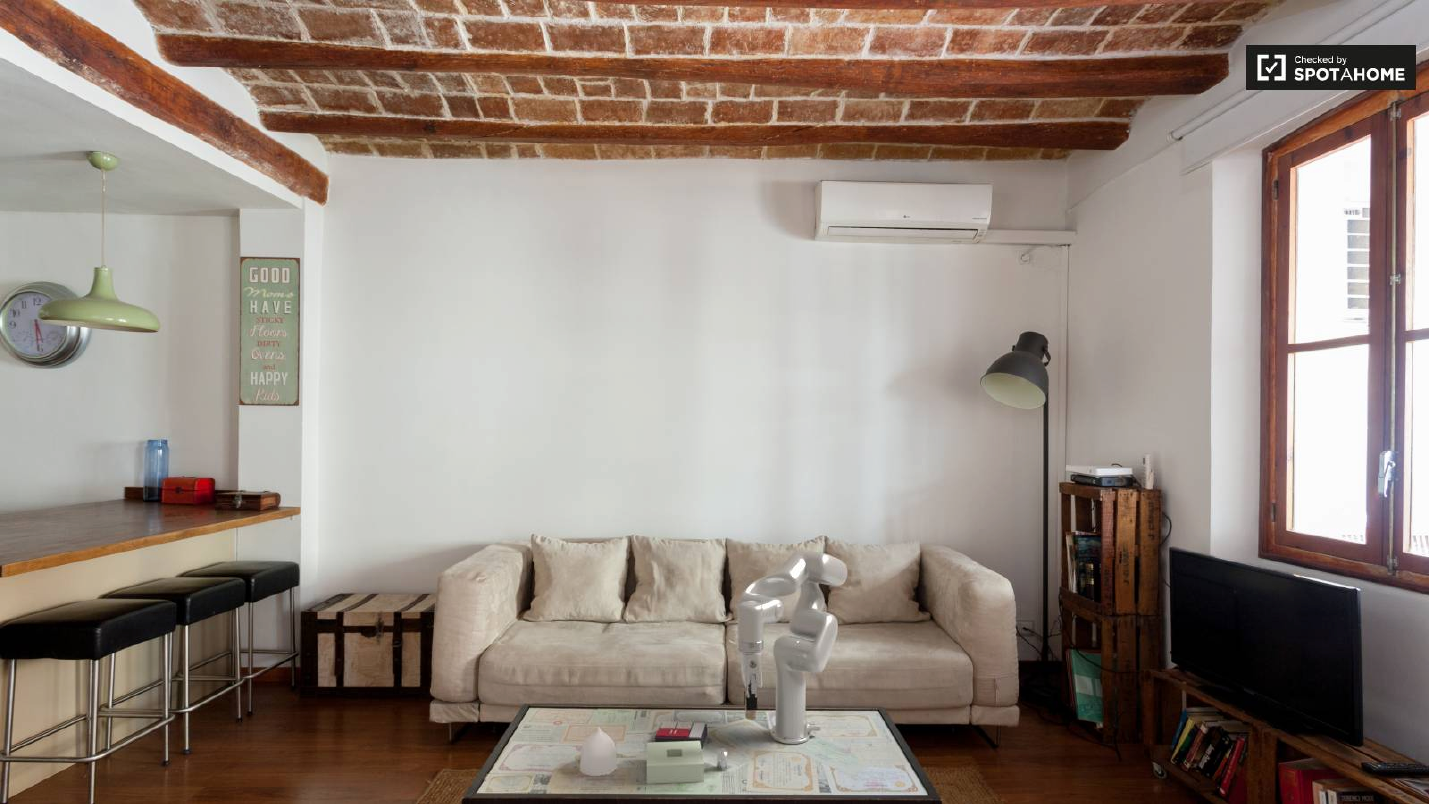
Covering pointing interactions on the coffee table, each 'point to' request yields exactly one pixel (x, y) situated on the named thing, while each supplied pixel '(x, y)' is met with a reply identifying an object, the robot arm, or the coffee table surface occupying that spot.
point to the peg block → (674, 762)
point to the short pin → (722, 759)
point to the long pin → (749, 714)
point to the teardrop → (598, 754)
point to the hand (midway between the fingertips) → (750, 706)
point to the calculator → (682, 732)
